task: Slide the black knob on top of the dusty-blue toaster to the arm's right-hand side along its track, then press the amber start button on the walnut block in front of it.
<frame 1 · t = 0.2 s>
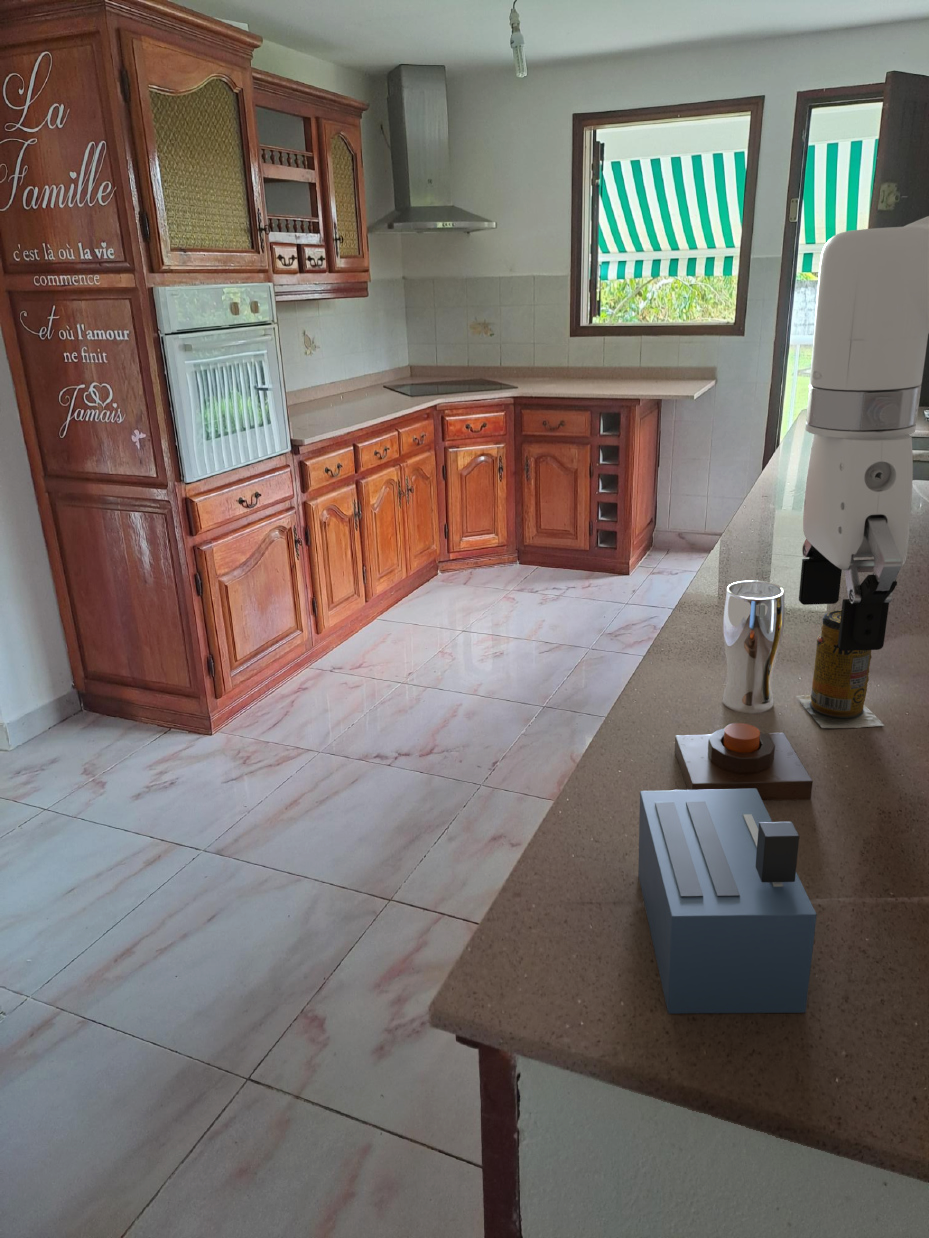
hand: (837, 624, 71), 24 cm above the counter, tool pointing down, fingers open, 9 cm apart
toaster slider: (776, 852, 64), point 11 cm above the counter, slide at 0.0 cm
toaster: (713, 936, 72), on the counter
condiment: (838, 713, 106), on the counter
beer glass: (747, 704, 109), on the counter
start button: (741, 738, 93), point 4 cm above the counter, slide at 0.1 cm
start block: (739, 774, 94), on the counter
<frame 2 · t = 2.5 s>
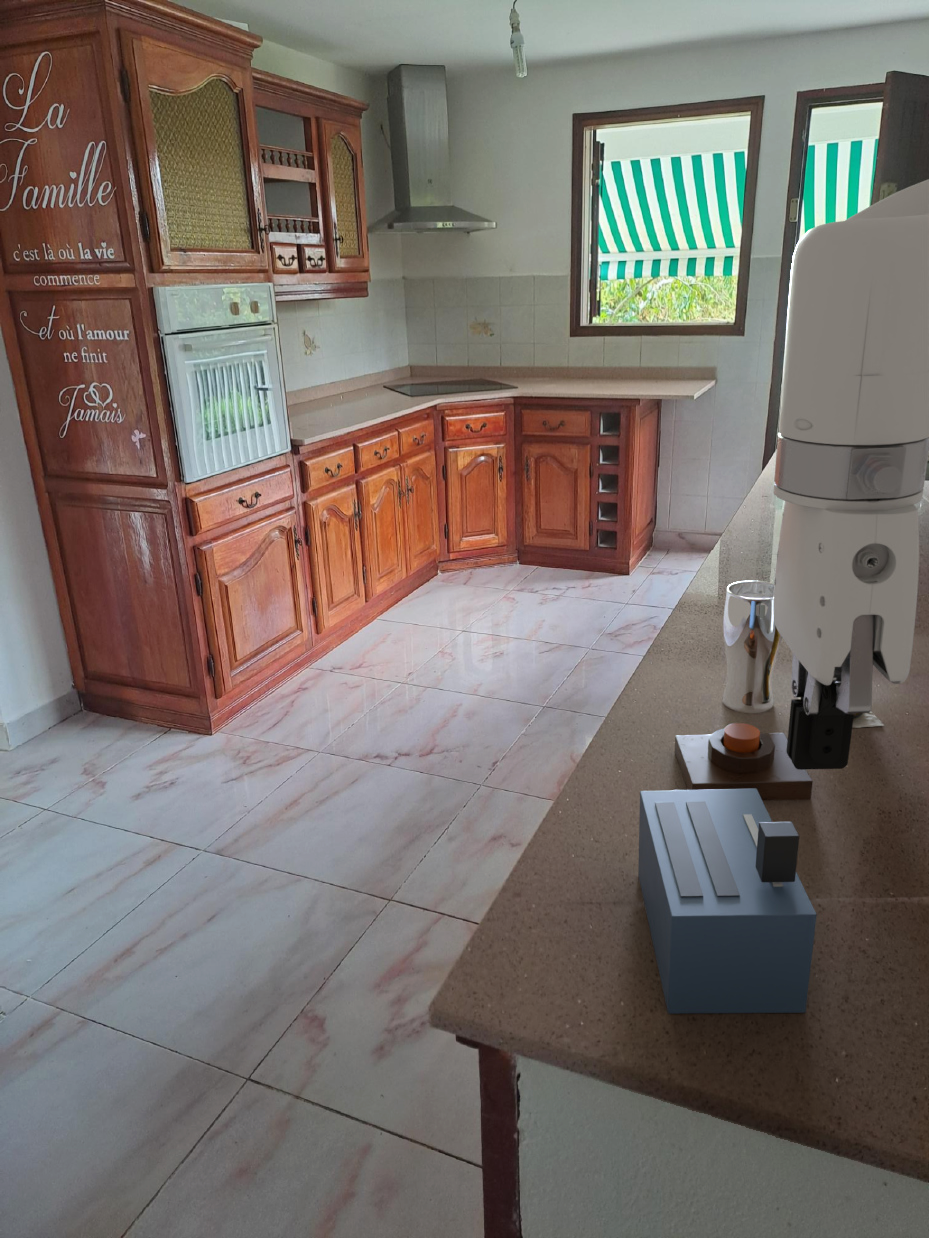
hand: (816, 761, 54), 23 cm above the counter, tool pointing down, fingers closed
nothing on the counter moved.
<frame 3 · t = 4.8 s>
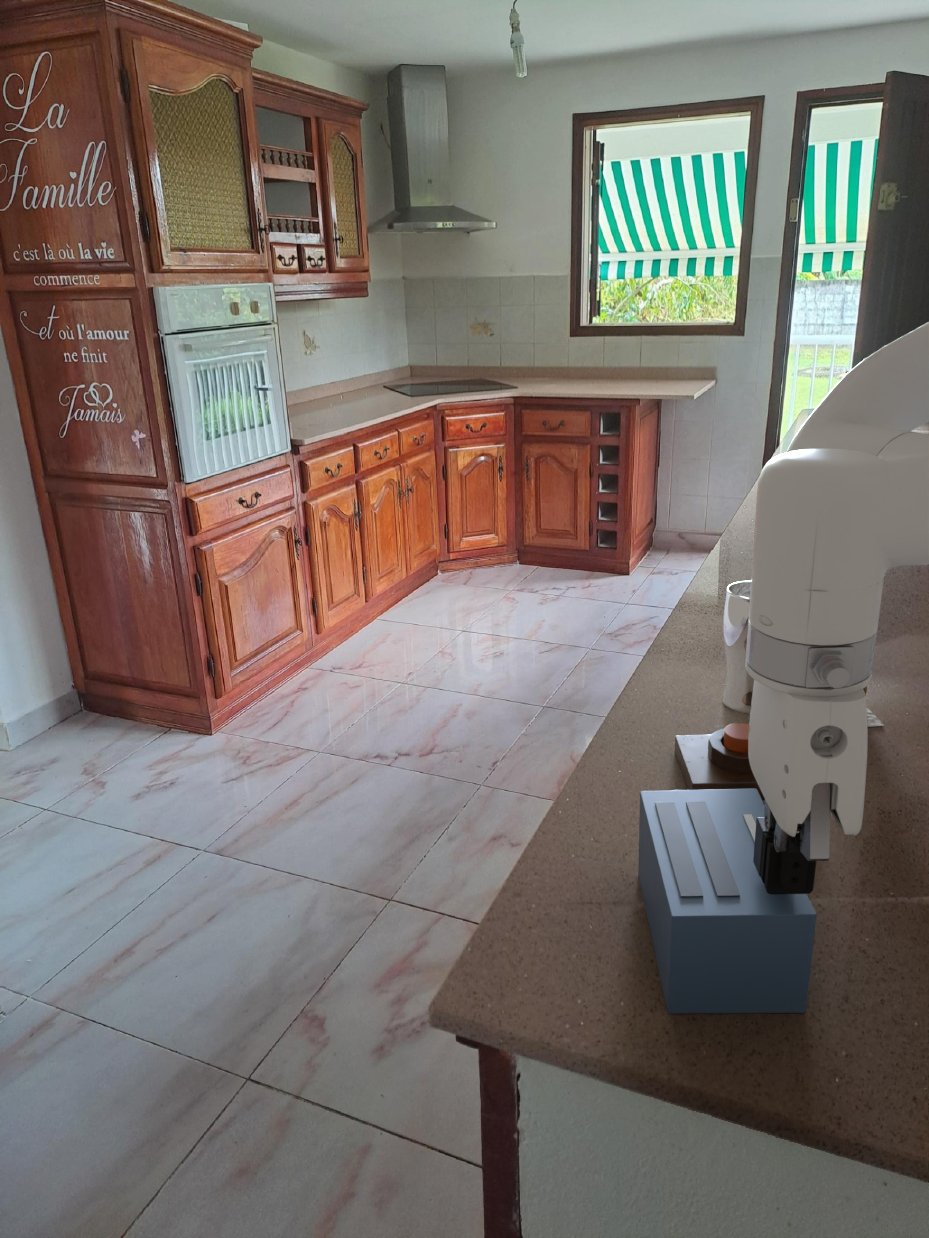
hand: (786, 886, 62), 10 cm above the counter, tool pointing down, fingers closed
toaster slider: (774, 846, 65), point 11 cm above the counter, slide at 0.7 cm, touching gripper
everything else where it was.
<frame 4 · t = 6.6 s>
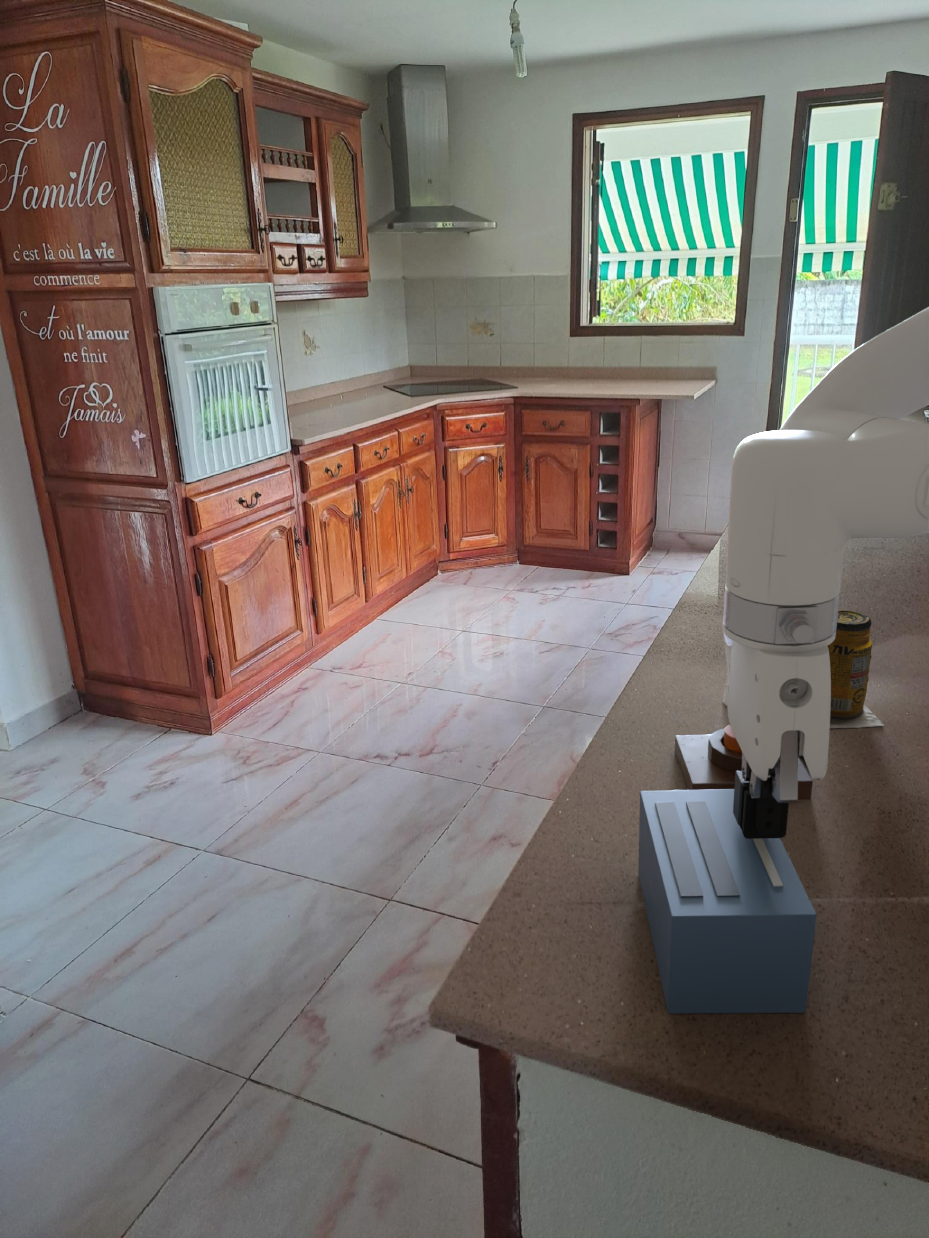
hand: (761, 831, 68), 10 cm above the counter, tool pointing down, fingers closed
toaster slider: (751, 797, 71), point 11 cm above the counter, slide at 7.1 cm, touching gripper
everything else where it was.
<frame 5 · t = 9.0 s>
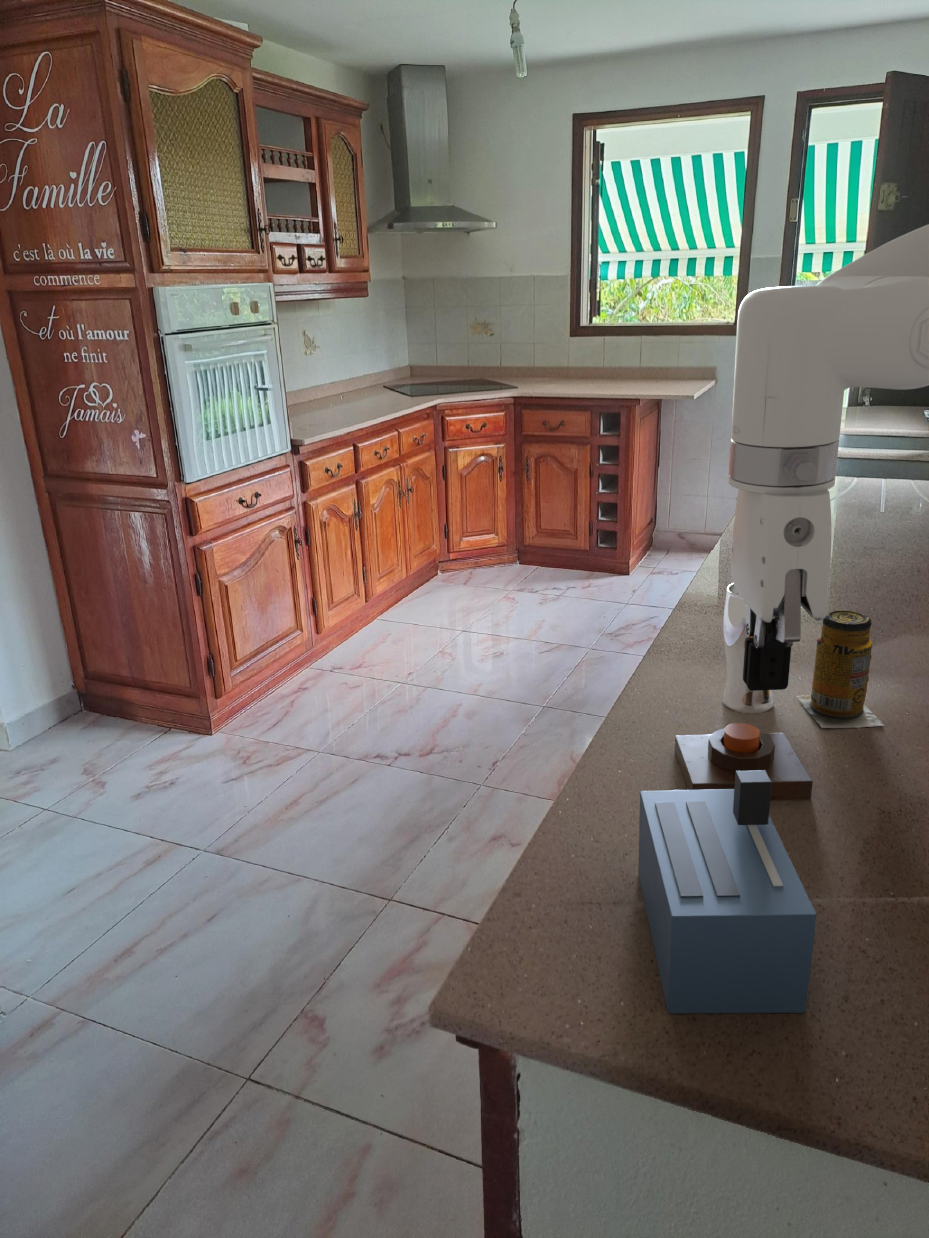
hand: (764, 685, 72), 19 cm above the counter, tool pointing down, fingers closed
toaster slider: (751, 797, 71), point 11 cm above the counter, slide at 7.1 cm
everything else where it was.
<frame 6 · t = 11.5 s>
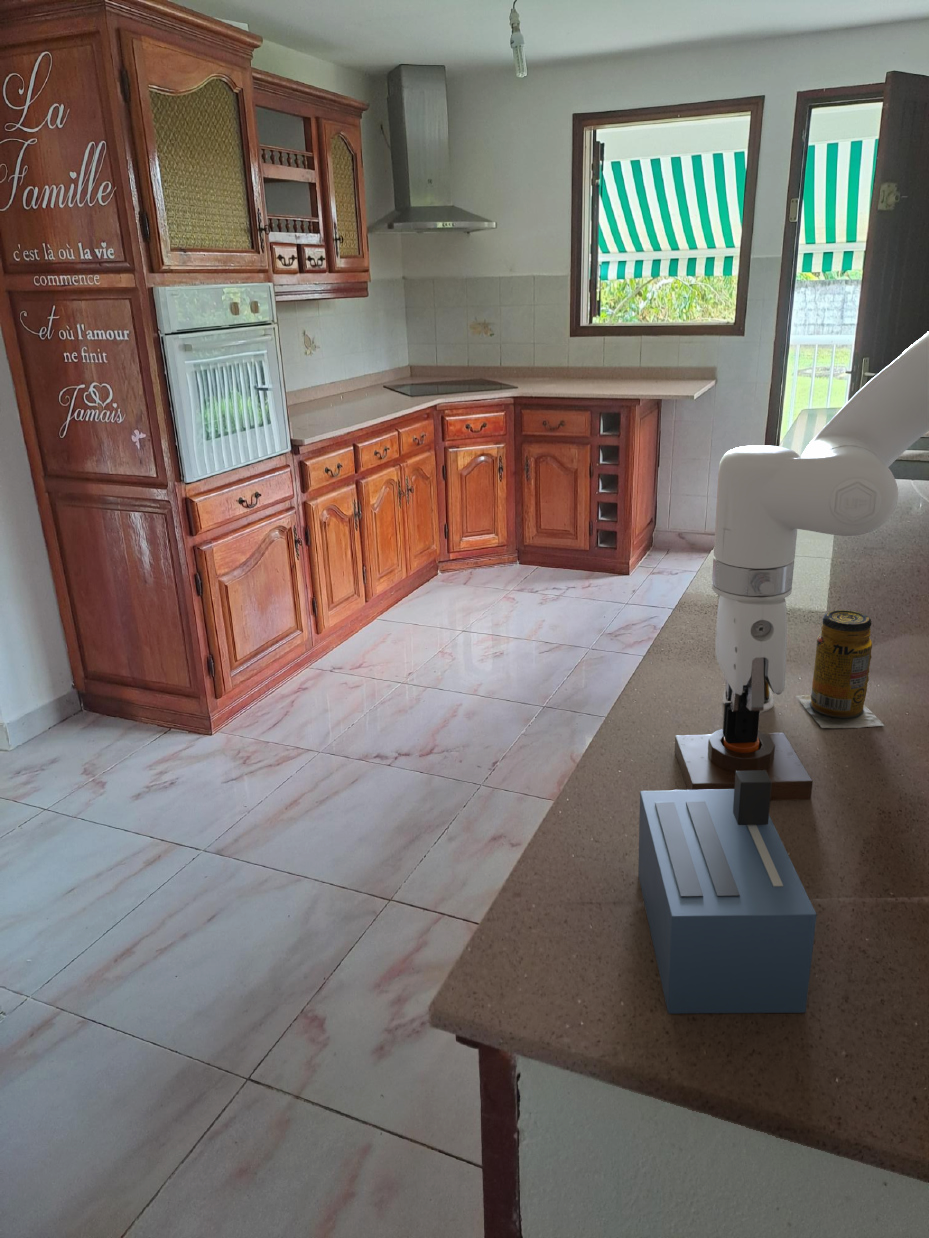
hand: (739, 738, 93), 4 cm above the counter, tool pointing down, fingers closed
start button: (741, 746, 93), point 3 cm above the counter, slide at -0.9 cm, touching gripper
everything else where it was.
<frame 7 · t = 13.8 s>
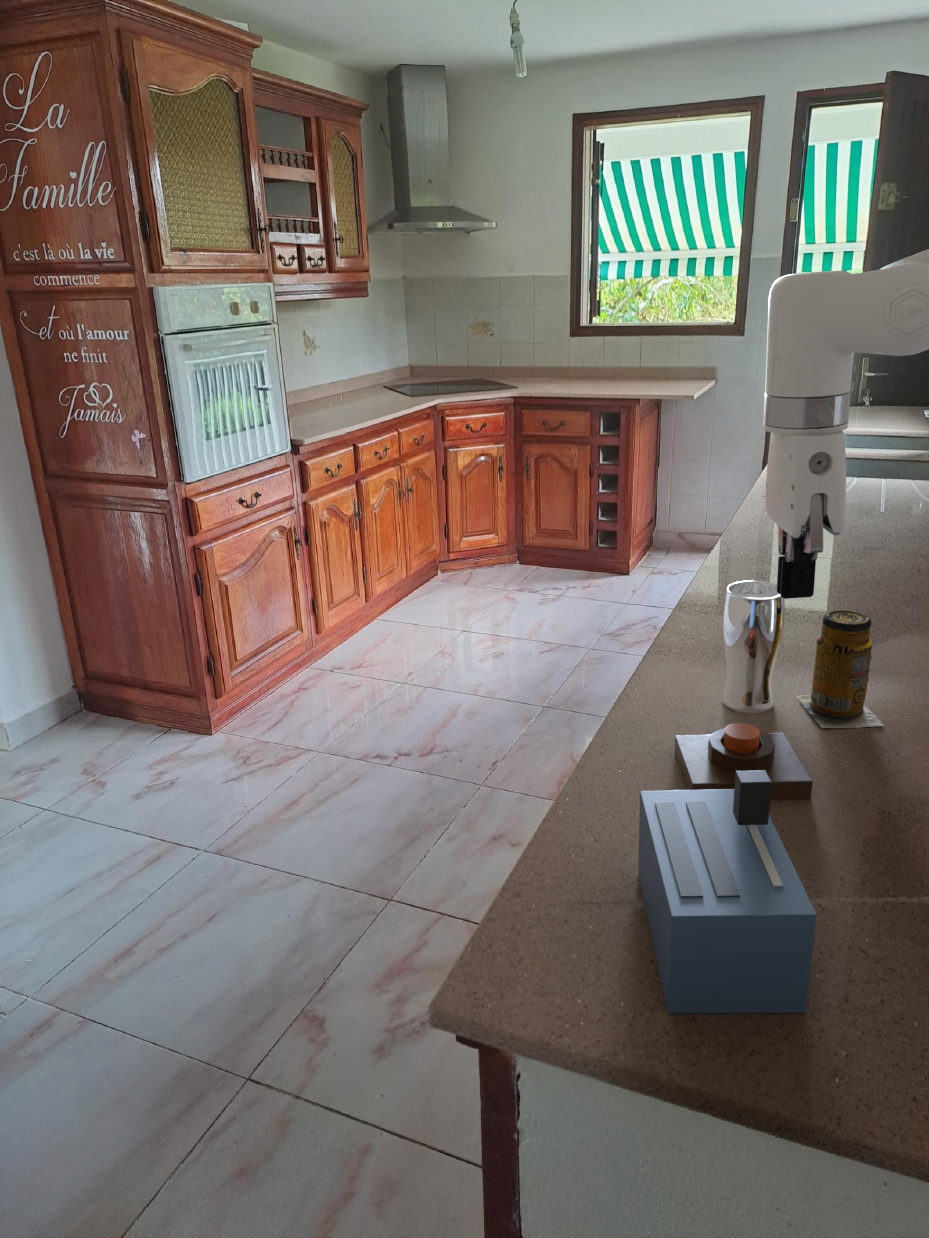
hand: (794, 594, 89), 19 cm above the counter, tool pointing down, fingers closed
start button: (741, 738, 93), point 4 cm above the counter, slide at 0.1 cm
everything else where it was.
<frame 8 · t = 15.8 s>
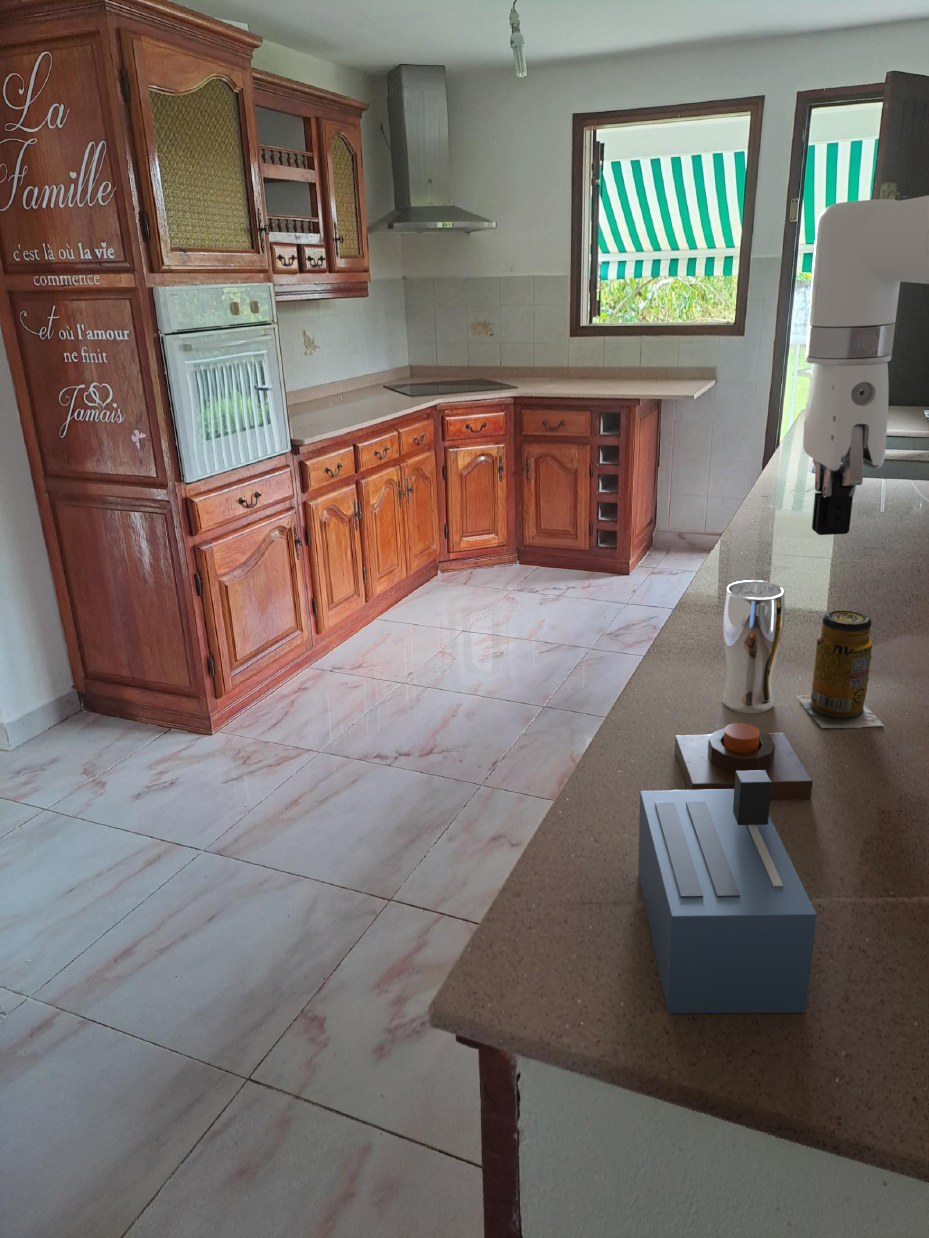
hand: (830, 531, 90), 25 cm above the counter, tool pointing down, fingers closed
nothing on the counter moved.
at the end: toaster slider slide at 7.1 cm; start button pushed in 1.1 cm at the most during the clip, back to where it started at the end; start button slide at 0.1 cm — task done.
